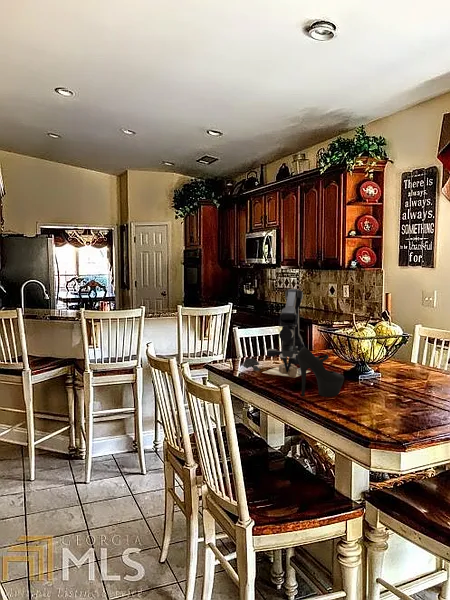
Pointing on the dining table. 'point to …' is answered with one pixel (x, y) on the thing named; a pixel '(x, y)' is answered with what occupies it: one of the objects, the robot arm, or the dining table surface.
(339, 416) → the dining table surface
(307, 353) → the high-heeled shoe
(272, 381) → the dining table surface
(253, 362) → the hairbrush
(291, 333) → the robot arm
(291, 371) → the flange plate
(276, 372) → the birch board
